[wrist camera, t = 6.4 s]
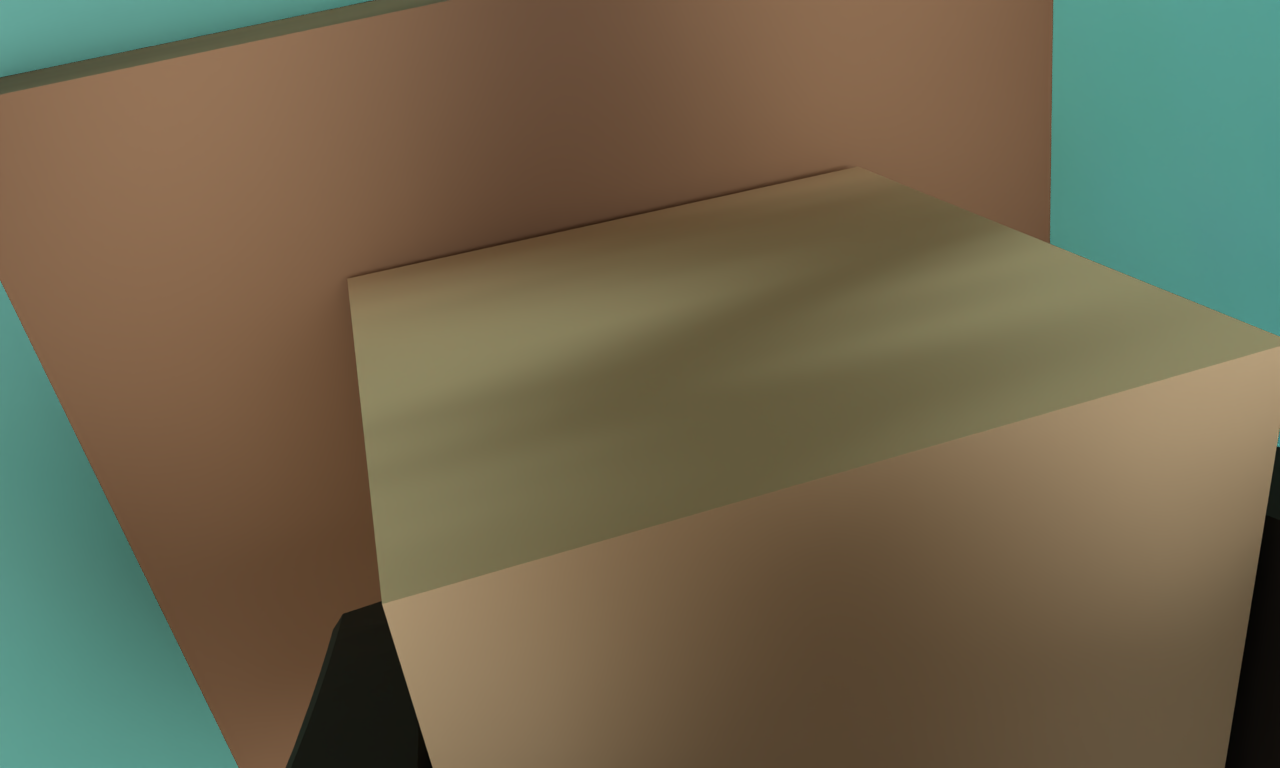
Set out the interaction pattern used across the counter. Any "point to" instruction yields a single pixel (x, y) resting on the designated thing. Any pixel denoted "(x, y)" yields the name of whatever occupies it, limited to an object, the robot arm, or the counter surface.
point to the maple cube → (812, 492)
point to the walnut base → (415, 238)
